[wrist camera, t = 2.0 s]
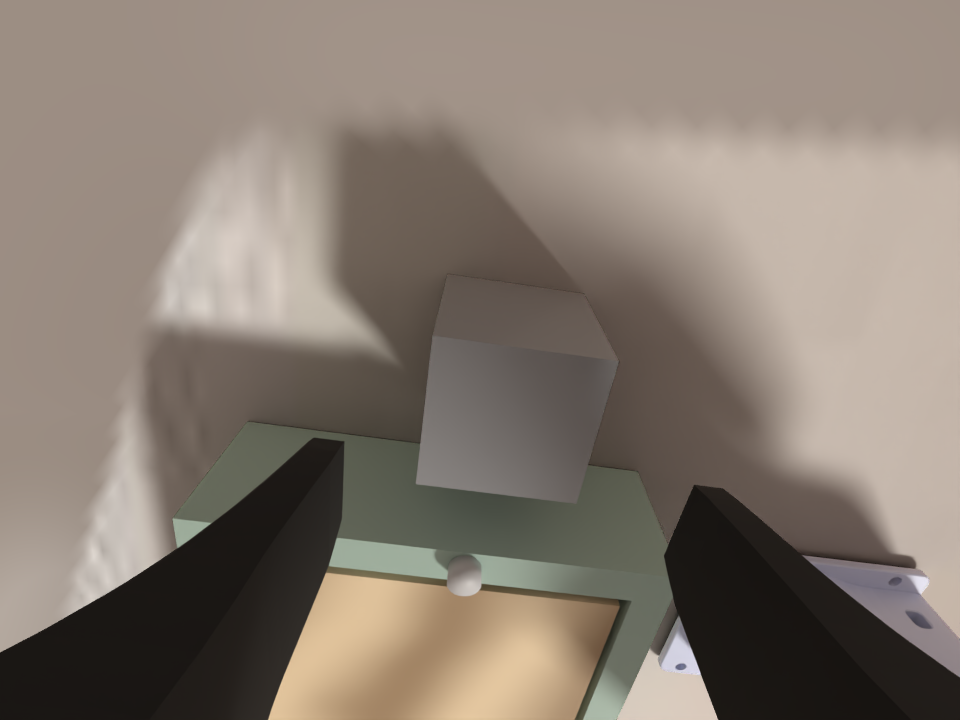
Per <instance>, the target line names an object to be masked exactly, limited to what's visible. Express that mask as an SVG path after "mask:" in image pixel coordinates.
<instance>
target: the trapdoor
mask: <svg viewBox="0 0 960 720" xmlns="http://www.w3.org/2000/svg"><path fill="white" fill-rule="evenodd" d="M619 607H620V605H619V601H618V599H611V598H603V597H594V596H585V595H576V594H568V593H559V592H550V591H541V590H533V589H524V588H515V587H507V586H498V585H489V584H481V588H480V590H479V591H478V592H477V593H476V594H474V595H471V596H458V595H455V594H453V593H452V592H451V591H450V590H449V589H448V587H447V580H446V579H437V578H428V577H419V576H411V575H402V574H393V573H384V572H376V571H367V570H358V569H350V568H341V567H332V566H328V569H327V572H326V574H325V577H324V579H323V582H322V584H321V586H320V589H319V591H318V594H317V596H316V599H315V601H314V604H313V606H312V609H311V611H310V613H309V616H308V618H307V621H306V623H305V626H304V628H303V631H302V633H301V635H300V638H299V640H298V643H297V645H296V648H295V650H294V652H293V655H292V657H291V660H290V662H289V665H288V667H287V669H286V672H285V674H284V677H283V679H282V682H281V685H280V687H279V690H278V693H277V695H276V698H275V701H274V704H273V706H272V709H271V712H270V716H269V719H268V720H575V718H576V715H577V713H578V710H579V708H580V705H581V703H582V700H583V698H584V695H585V693H586V690H587V688H588V685H589V683H590V680H591V678H592V675H593V673H594V670H595V668H596V665H597V662H598V660H599V657H600V655H601V652H602V650H603V647H604V645H605V642H606V640H607V637H608V635H609V632H610V630H611V627H612V625H613V622H614V620H615V617H616V615H617V612H618V610H619Z"/></svg>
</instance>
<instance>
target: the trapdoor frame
mask: <svg viewBox="0 0 960 720" xmlns="http://www.w3.org/2000/svg"><path fill="white" fill-rule="evenodd" d="M312 438H322V439H330V440H338V441H345V444H344V476H343V508H342V521H341V524H340V528H339V532H338V535H337V539H336V543H335V546H334V549H333V553H332V556H331V560H330V563H329V566H332V567H341V568H350V569H358V570H367V571H376V572H384V573H393V574H402V575H411V576H419V577H428V578H437V579H446V580H447V587H448V589H449V590H450V591H451V592H452V593H453V594H455V595H458V596H471V595H474V594H476V593H477V592H478V591H479V590H480V588H481V584H489V585H498V586H507V587H515V588H524V589H533V590H541V591H550V592H559V593H568V594H576V595H585V596H594V597H603V598H611V599H618V601H619V605H620V607H619V610H618V612H617V615H616V617H615V620H614V622H613V625H612V627H611V630H610V632H609V635H608V637H607V640H606V642H605V645H604V647H603V650H602V652H601V655H600V657H599V660H598V662H597V665H596V668H595V670H594V673H593V675H592V678H591V680H590V683H589V685H588V688H587V690H586V693H585V695H584V698H583V700H582V703H581V705H580V708H579V710H578V713H577V715H576V718H575V720H617V718H618V715H619V713H620V711H621V709H622V707H623V705H624V703H625V700H626V698H627V696H628V694H629V692H630V690H631V687H632V685H633V683H634V681H635V679H636V677H637V674H638V672H639V670H640V668H641V666H642V664H643V661H644V659H645V657H646V655H647V653H648V651H649V648H650V646H651V644H652V642H653V640H654V638H655V635H656V633H657V631H658V629H659V627H660V625H661V622H662V620H663V618H664V616H665V614H666V612H667V610H668V607H669V605H670V603H671V601H672V599H673V594H672V590H671V586H670V583H669V578H668V573H667V569H666V564H665V560H664V554H665V552H666V549H667V547H668V544H667V541H666V539H665V536H664V534H663V531H662V529H661V527H660V524H659V522H658V519H657V517H656V515H655V512H654V510H653V507H652V505H651V502H650V500H649V498H648V495H647V493H646V490H645V488H644V486H643V483H642V481H641V478H640V476H639V473H638V472H637V471H630V470H622V469H614V468H606V467H598V466H591V465H588V467H587V470H586V473H585V477H584V480H583V483H582V487H581V490H580V493H579V497H578V500H577V503H576V504H574V503H566V502H557V501H549V500H541V499H533V498H525V497H517V496H508V495H500V494H492V493H484V492H476V491H468V490H459V489H451V488H443V487H435V486H427V485H418V484H416V477H417V468H418V460H419V451H420V444H419V443H411V442H403V441H396V440H388V439H380V438H372V437H364V436H357V435H349V434H341V433H333V432H325V431H318V430H310V429H302V428H294V427H286V426H279V425H271V424H263V423H255V422H247V423H246V424H245V425H244V426H243V428H242V429H241V430H240V432H239V433H238V434H237V436H236V437H235V438H234V439H233V441H232V442H231V443H230V445H229V446H228V447H227V448H226V450H225V451H224V452H223V454H222V455H221V456H220V457H219V459H218V460H217V461H216V463H215V464H214V465H213V467H212V468H211V469H210V470H209V472H208V473H207V474H206V476H205V477H204V478H203V479H202V481H201V482H200V483H199V485H198V486H197V487H196V489H195V490H194V491H193V492H192V494H191V495H190V496H189V498H188V499H187V500H186V501H185V503H184V504H183V505H182V507H181V508H180V509H179V510H178V512H177V513H176V514H175V516H174V517H173V518H172V519H173V525H174V531H175V537H176V543H177V548H178V547H180V546H181V545H183V544H184V543H186V542H187V541H188V540H190V539H191V538H192V537H194V536H195V535H196V534H198V533H199V532H200V531H202V530H203V529H204V528H206V527H207V526H208V525H210V524H211V523H212V522H214V521H215V520H216V519H218V518H219V517H220V516H222V515H223V514H224V513H225V512H227V511H228V510H229V509H231V508H232V507H233V506H234V505H236V504H237V503H238V502H239V501H240V500H242V499H243V498H244V497H245V496H246V495H248V494H249V493H250V492H251V491H252V490H254V489H255V488H256V487H257V486H258V485H260V484H261V483H262V482H263V481H264V480H266V479H267V478H268V477H269V476H270V475H271V474H272V473H274V472H275V471H276V470H277V469H278V468H279V467H280V466H282V465H283V464H284V463H285V462H286V461H287V460H288V459H289V458H290V457H292V456H293V455H294V454H295V453H296V452H297V451H298V450H299V449H300V448H301V447H303V446H304V445H305V444H306V443H307V442H308V441H310V440H311V439H312Z"/></svg>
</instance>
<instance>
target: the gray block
mask: <svg viewBox="0 0 960 720" xmlns="http://www.w3.org/2000/svg"><path fill="white" fill-rule="evenodd" d="M618 364H619V360H618V358H617V356H616V354H615V352H614V350H613V348H612V346H611V345H610V343H609V341H608V339H607V337H606V335H605V333H604V331H603V329H602V327H601V325H600V323H599V321H598V320H597V318H596V316H595V314H594V312H593V310H592V308H591V306H590V304H589V302H588V300H587V298H586V296H585V295H584V294H583V293H576V292H569V291H562V290H556V289H549V288H542V287H535V286H528V285H521V284H514V283H507V282H500V281H493V280H486V279H479V278H473V277H466V276H459V275H452V274H447V278H446V282H445V286H444V290H443V294H442V298H441V302H440V307H439V311H438V315H437V319H436V323H435V327H434V331H433V335H432V344H431V352H430V361H429V370H428V379H427V388H426V397H425V406H424V415H423V424H422V433H421V442H420V451H419V460H418V468H417V477H416V484H418V485H427V486H435V487H443V488H451V489H459V490H468V491H476V492H484V493H492V494H500V495H508V496H517V497H525V498H533V499H541V500H549V501H557V502H566V503H574V504H576V503H577V500H578V497H579V493H580V490H581V487H582V483H583V480H584V477H585V473H586V470H587V467H588V463H589V460H590V457H591V453H592V450H593V447H594V444H595V440H596V437H597V434H598V430H599V427H600V424H601V420H602V417H603V414H604V410H605V407H606V404H607V400H608V397H609V394H610V390H611V387H612V384H613V380H614V377H615V374H616V370H617V367H618Z"/></svg>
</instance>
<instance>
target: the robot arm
mask: <svg viewBox="0 0 960 720" xmlns="http://www.w3.org/2000/svg"><path fill="white" fill-rule="evenodd" d="M344 444H345V441H338V440H330V439H322V438H312V439H311V440H310V441H308V442H307V443H306V444H305V445H304V446H303V447H301V448H300V449H299V450H298V451H297V452H296V453H295V454H294V455H293V456H292V457H290V458H289V459H288V460H287V461H286V462H285V463H284V464H283V465H282V466H280V467H279V468H278V469H277V470H276V471H275V472H274V473H272V474H271V475H270V476H269V477H268V478H267V479H266V480H264V481H263V482H262V483H261V484H260V485H258V486H257V487H256V488H255V489H254V490H252V491H251V492H250V493H249V494H248V495H246V496H245V497H244V498H243V499H242V500H240V501H239V502H238V503H237V504H236V505H234V506H233V507H232V508H231V509H229V510H228V511H227V512H225V513H224V514H223V515H222V516H220V517H219V518H218V519H216V520H215V521H214V522H212V523H211V524H210V525H208V526H207V527H206V528H204V529H203V530H202V531H200V532H199V533H198V534H196V535H195V536H194V537H192V538H191V539H190V540H188V541H187V542H186V543H184V544H183V545H181V546H180V547H178V548H177V549H176V550H174V551H173V552H171V553H170V554H168V555H167V556H165V557H164V558H162V559H161V560H159V561H158V562H157V563H155V564H153V565H152V566H150V567H149V568H147V569H146V570H144V571H143V572H141V573H140V574H138V575H137V576H135V577H133V578H132V579H130V580H129V581H127V582H126V583H124V584H122V585H121V586H119V587H117V588H116V589H114V590H112V591H111V592H109V593H107V594H106V595H104V596H102V597H100V598H99V599H97V600H95V601H93V602H92V603H90V604H88V605H86V606H85V607H83V608H81V609H79V610H78V611H76V612H74V613H72V614H71V615H69V616H67V617H65V618H64V619H62V620H60V621H58V622H57V623H55V624H53V625H51V626H50V627H48V628H46V629H44V630H42V631H41V632H39V633H37V634H35V635H33V636H31V637H30V638H27V639H25V640H23V641H22V642H19V643H18V644H16V645H14V646H12V647H10V648H8V649H6V650H4V651H2V652H0V720H268V719H269V716H270V712H271V709H272V706H273V704H274V701H275V698H276V695H277V693H278V690H279V687H280V685H281V682H282V679H283V677H284V674H285V672H286V669H287V667H288V665H289V662H290V660H291V657H292V655H293V652H294V650H295V648H296V645H297V643H298V640H299V638H300V635H301V633H302V631H303V628H304V626H305V623H306V621H307V618H308V616H309V613H310V611H311V609H312V606H313V604H314V601H315V599H316V596H317V594H318V591H319V589H320V586H321V584H322V582H323V579H324V577H325V574H326V572H327V569H328V566H329V563H330V560H331V556H332V553H333V549H334V546H335V543H336V539H337V535H338V532H339V528H340V524H341V521H342V508H343V476H344ZM664 560H665V564H666V569H667V573H668V578H669V583H670V586H671V590H672V594H673V598H674V602H675V606H676V609H677V611H678V614H679V616H678V618H677V620H676V622H675V624H674V626H673V628H672V630H671V632H670V634H669V636H668V638H667V640H666V643H665V645H664V647H663V649H662V651H661V653H660V655H659V657H658V662H659V665H660V667H661V669H663V670H664V671H668V672H677V673H686V674H696V675H701V676H702V678H703V681H704V684H705V686H706V689H707V691H708V694H709V697H710V699H711V702H712V705H713V707H714V710H715V713H716V715H717V718H718V720H960V639H959V638H958V636H957V635H956V634H955V633H954V632H953V631H952V630H951V629H950V627H949V626H948V625H947V624H946V623H945V622H944V621H943V620H942V619H941V617H940V616H939V615H938V614H937V613H936V612H935V611H934V610H933V608H932V607H931V606H930V605H929V604H928V603H927V602H926V601H925V599H924V598H923V597H922V596H921V593H922V592H923V591H924V590H925V588H926V587H927V586H928V584H929V578H928V577H927V576H926V575H925V574H924V573H923V572H922V571H921V570H918V569H911V568H903V567H895V566H886V565H878V564H870V563H862V562H854V561H845V560H837V559H829V558H821V557H812V556H804V555H801V554H800V553H799V552H797V551H796V550H795V549H794V548H793V547H792V546H790V545H789V544H788V543H787V542H786V541H785V540H783V539H782V538H781V537H780V536H779V535H778V534H777V533H775V532H774V531H773V530H772V529H771V528H770V527H769V526H767V525H766V524H765V523H764V522H763V521H762V520H760V519H759V518H758V517H757V516H756V515H755V514H753V513H752V512H751V511H750V510H749V509H748V508H746V507H745V506H744V505H743V504H742V503H740V502H739V501H738V500H737V499H736V498H734V497H733V496H732V495H730V494H729V493H728V492H726V491H725V490H724V489H721V488H713V487H705V486H697V485H694V487H693V489H692V491H691V494H690V496H689V498H688V501H687V503H686V505H685V508H684V510H683V512H682V515H681V517H680V519H679V522H678V524H677V526H676V529H675V531H674V533H673V536H672V538H671V540H670V542H669V545H668V547H667V549H666V552H665V554H664Z"/></svg>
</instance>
